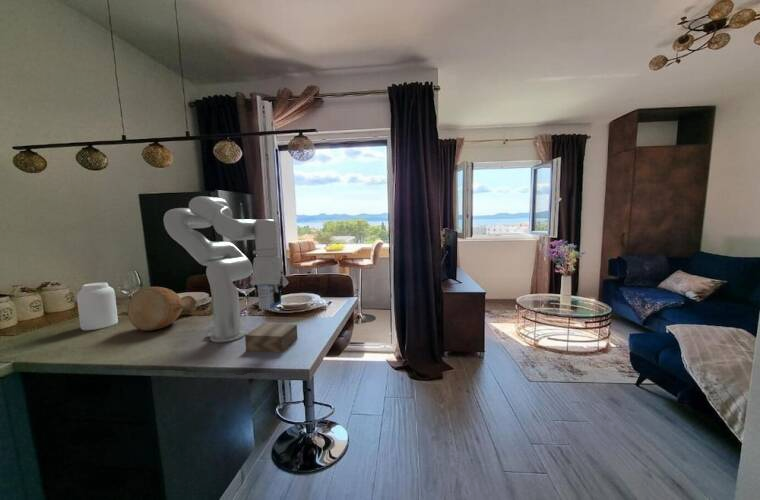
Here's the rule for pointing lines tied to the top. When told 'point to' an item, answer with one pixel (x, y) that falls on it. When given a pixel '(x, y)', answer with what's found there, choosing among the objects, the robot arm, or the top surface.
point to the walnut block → (271, 337)
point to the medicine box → (266, 297)
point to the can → (97, 306)
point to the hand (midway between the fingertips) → (270, 301)
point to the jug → (158, 308)
